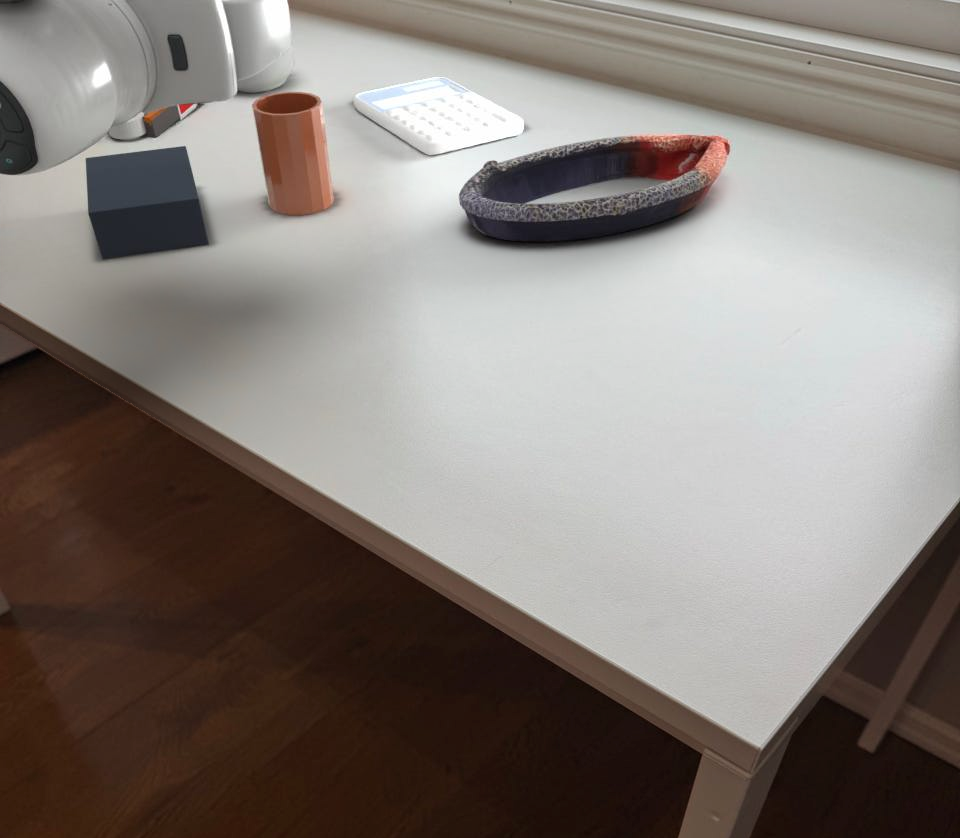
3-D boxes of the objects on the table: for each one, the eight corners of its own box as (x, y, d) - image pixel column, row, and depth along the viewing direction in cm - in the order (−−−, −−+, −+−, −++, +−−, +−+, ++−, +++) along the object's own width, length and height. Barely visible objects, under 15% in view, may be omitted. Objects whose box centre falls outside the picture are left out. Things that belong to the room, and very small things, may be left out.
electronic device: (89, 117, 113) (154, 70, 122) (98, 143, 115) (160, 96, 125) (140, 122, 112) (201, 75, 121) (147, 149, 114) (207, 100, 123)
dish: (432, 212, 99) (429, 161, 96) (685, 160, 108) (692, 111, 104) (497, 274, 89) (497, 220, 86) (770, 211, 98) (780, 160, 94)
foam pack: (104, 265, 92) (88, 212, 88) (100, 207, 101) (85, 157, 98) (210, 250, 94) (198, 198, 90) (196, 195, 103) (185, 145, 100)
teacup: (273, 103, 123) (262, 31, 117) (200, 94, 125) (185, 23, 120) (323, 69, 132) (315, 1, 126) (253, 62, 134) (242, -5, 129)
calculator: (428, 158, 109) (428, 140, 108) (350, 108, 121) (349, 91, 120) (527, 134, 114) (527, 117, 112) (443, 88, 126) (442, 72, 124)
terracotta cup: (275, 225, 98) (257, 118, 90) (266, 199, 102) (248, 96, 95) (339, 216, 99) (326, 110, 92) (327, 191, 103) (314, 88, 96)
